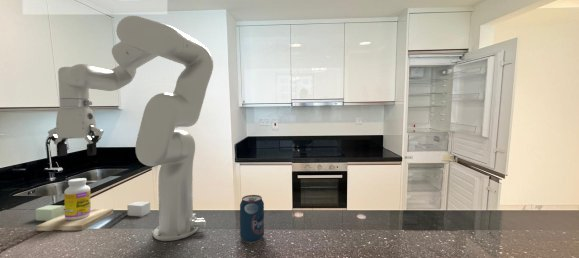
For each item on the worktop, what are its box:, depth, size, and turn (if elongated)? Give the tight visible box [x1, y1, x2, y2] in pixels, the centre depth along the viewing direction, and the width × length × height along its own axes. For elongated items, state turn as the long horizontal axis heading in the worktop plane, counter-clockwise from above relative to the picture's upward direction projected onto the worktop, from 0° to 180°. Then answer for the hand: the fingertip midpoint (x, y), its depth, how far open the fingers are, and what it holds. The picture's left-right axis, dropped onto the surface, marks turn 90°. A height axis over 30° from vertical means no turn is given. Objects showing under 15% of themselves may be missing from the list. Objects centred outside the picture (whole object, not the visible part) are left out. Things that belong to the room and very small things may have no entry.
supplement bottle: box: [63, 177, 92, 220], centre depth 82 cm, size 7×7×13 cm
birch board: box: [35, 208, 114, 232], centre depth 82 cm, size 14×14×2 cm
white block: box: [127, 200, 151, 217], centre depth 88 cm, size 6×4×4 cm, turn 79°
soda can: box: [239, 194, 265, 244], centre depth 70 cm, size 7×7×12 cm
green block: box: [35, 204, 65, 222], centre depth 84 cm, size 6×4×4 cm, turn 86°
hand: (77, 155), depth 81 cm, fingers open, 9 cm apart
